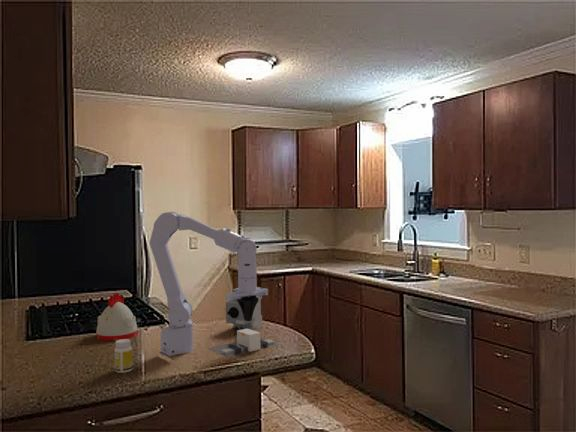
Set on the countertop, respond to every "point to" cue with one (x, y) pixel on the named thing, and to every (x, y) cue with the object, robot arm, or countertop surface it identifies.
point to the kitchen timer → (116, 321)
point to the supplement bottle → (123, 356)
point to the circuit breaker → (236, 314)
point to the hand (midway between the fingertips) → (247, 320)
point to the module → (248, 339)
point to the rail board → (239, 347)
